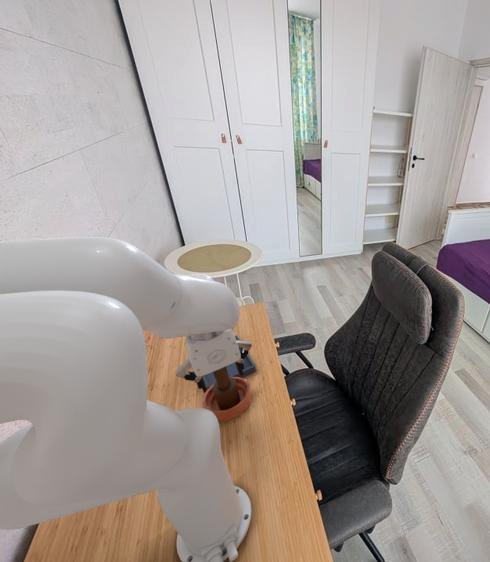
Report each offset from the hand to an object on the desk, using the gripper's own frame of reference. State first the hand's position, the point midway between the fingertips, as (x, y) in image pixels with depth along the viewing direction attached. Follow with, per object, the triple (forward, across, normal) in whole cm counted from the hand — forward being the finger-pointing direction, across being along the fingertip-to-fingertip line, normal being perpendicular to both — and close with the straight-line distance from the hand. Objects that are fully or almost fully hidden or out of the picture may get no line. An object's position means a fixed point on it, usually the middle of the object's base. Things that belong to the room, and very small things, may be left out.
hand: (222, 379), depth 72 cm
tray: (+9, +3, +15) cm, 18 cm away
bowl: (+9, 0, 0) cm, 9 cm away
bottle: (+9, 0, 0) cm, 9 cm away
